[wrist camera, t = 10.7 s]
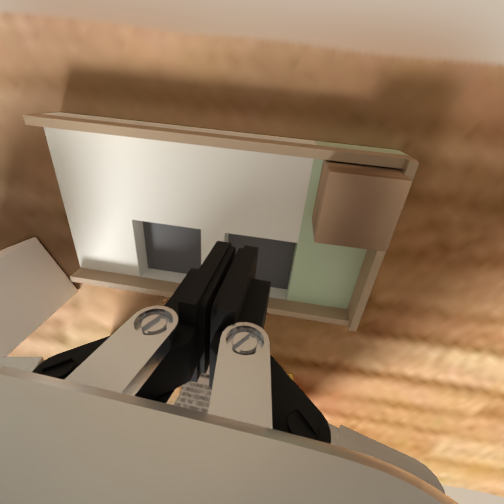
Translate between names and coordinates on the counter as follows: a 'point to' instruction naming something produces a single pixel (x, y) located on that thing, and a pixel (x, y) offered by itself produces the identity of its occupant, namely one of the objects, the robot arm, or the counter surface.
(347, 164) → the walnut block
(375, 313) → the counter surface
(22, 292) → the milk carton
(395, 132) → the counter surface
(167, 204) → the board
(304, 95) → the counter surface
